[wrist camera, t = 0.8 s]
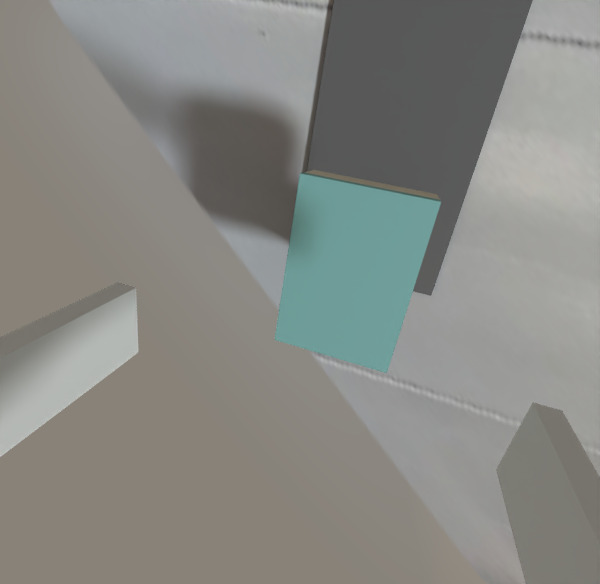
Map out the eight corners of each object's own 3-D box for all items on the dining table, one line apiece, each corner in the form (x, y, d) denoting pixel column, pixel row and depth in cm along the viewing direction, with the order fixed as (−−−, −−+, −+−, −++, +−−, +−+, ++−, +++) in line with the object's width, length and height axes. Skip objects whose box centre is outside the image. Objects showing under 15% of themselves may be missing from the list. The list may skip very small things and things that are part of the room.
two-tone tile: (314, 169, 21) (300, 173, 18) (437, 194, 20) (441, 202, 17) (289, 319, 25) (274, 339, 22) (389, 347, 24) (386, 373, 21)
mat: (345, -66, 25) (344, -69, 25) (549, -52, 22) (551, -55, 22) (293, 259, 35) (292, 260, 34) (430, 293, 32) (430, 295, 32)
